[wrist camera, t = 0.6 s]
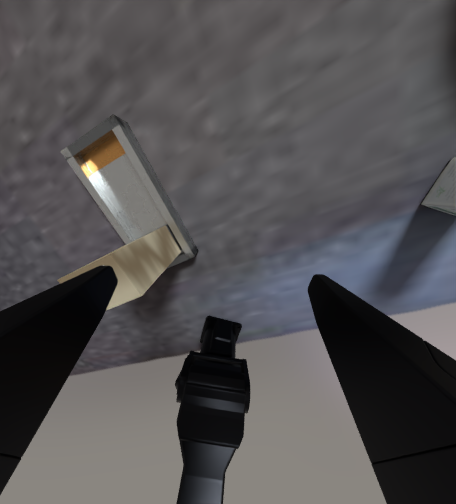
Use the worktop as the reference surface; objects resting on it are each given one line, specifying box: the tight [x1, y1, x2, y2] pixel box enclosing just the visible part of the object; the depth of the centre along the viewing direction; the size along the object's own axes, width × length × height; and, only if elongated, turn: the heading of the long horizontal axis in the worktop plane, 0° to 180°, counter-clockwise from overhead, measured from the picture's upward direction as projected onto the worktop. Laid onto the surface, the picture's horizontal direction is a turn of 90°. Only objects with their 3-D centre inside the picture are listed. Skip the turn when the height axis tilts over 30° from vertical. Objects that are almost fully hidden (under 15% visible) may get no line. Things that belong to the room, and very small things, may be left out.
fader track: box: [61, 115, 198, 269], centre depth 22 cm, size 18×8×2 cm, turn 25°
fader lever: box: [58, 225, 182, 310], centre depth 19 cm, size 4×6×11 cm
